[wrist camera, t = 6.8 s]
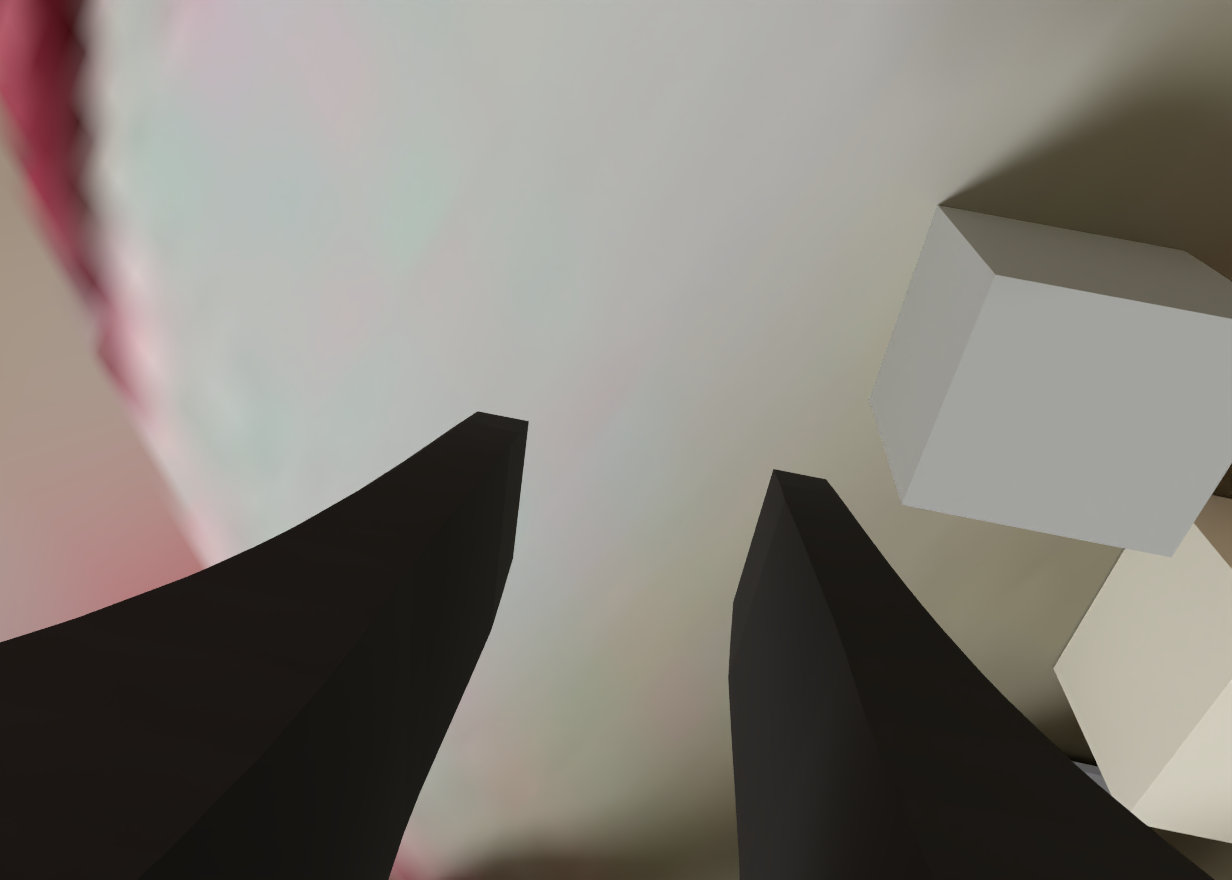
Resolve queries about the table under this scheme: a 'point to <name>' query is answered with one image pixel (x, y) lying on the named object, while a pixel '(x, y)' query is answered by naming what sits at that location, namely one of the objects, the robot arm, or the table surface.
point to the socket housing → (1162, 680)
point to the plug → (1058, 382)
